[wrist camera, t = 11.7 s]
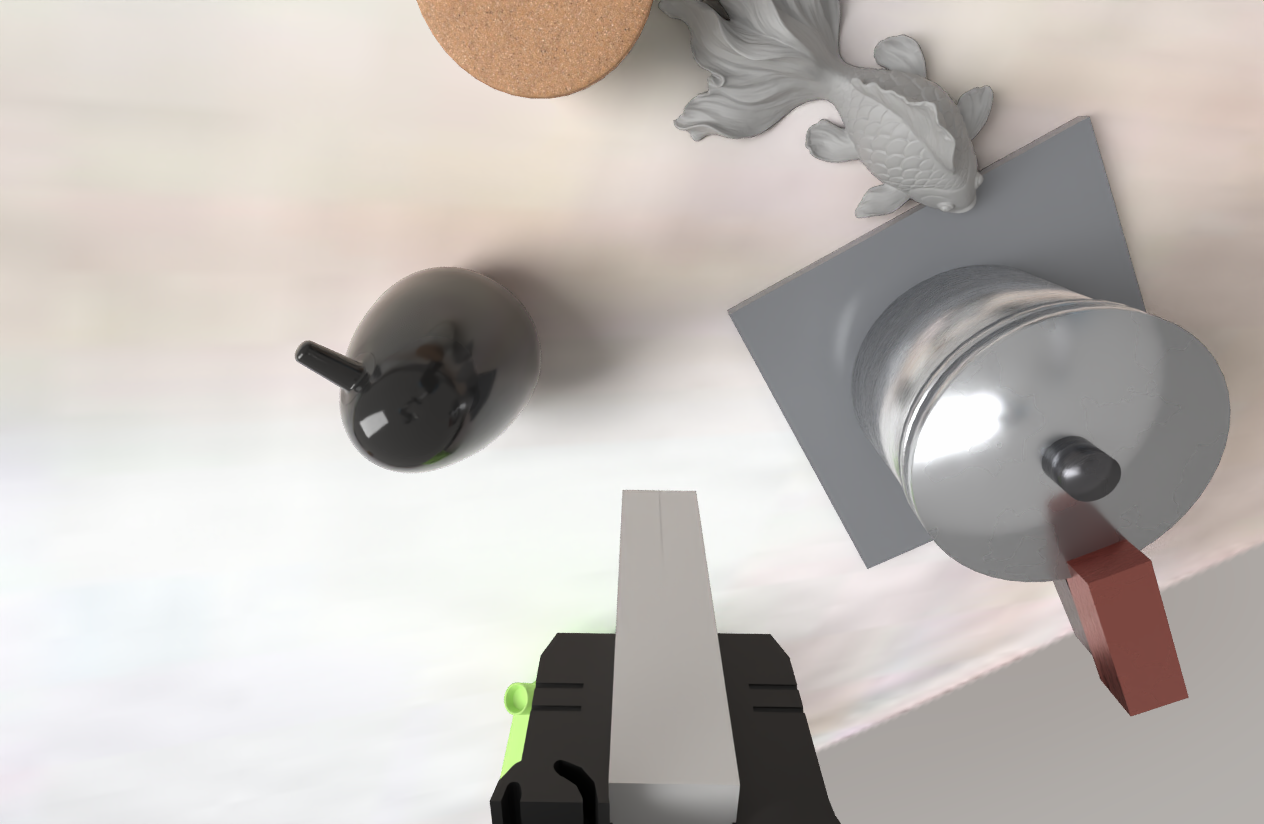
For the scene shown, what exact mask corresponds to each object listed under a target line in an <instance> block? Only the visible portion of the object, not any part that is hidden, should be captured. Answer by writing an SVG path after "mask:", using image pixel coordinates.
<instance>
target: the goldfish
mask: <svg viewBox="0 0 1264 824" xmlns="http://www.w3.org/2000/svg"><path fill="white" fill-rule="evenodd" d="M719 2H720V3H721V5H722V6H723V8H724V9H725V11H726V12H727V14H728V16H729V18H730V21H727V20H725V19H723V18H722V17H721V16H720V15H719V14H718V13H717V12H716V11H715V10H713V9H712V8H711V7H710V6H709V5H707V4H706V3H705V2H703V1H700V0H661V1H660V2H659V4H658V7H659V9H660V10H661V11H663V12H664V13H666V14H667V15H668V16H669V17H671V18H674V19H680V20H682V21H684V22H685V23H686V24H687V26H688V27H689V29H690V31H691V36H692V37H691V48H692V52H693V56H694V59H695V60H696V62H697V63H698V65H699V66H700V67H701V68H703V69H705V70H707V71H710V72H711V73H712V75H711V76H710V77H709V78H708V91H707V92H704V93H700V94H698V95H697V96H696V97H694V98H693V99H692V100H691V101H690V102H689V103H688V104H687V105H686V106H685V109H684V111H683V114H682V115H680V116H679V118H678V119H676V120H674V125H675V127H676V128H677V129H679V130H686V131H688V132H689V133H690V135H691V137H692V139H693V140H694V141H699V140H701V139H702V138H703V137H704V136H706V135H711V134H716V135H720V136H723V137H727V138H733V139H741V138H749V137H753V136H756V135H758V134H761V133H762V132H764V131H765V130H767V129H768V128H769V127H771V126H772V125H774V124H775V123H776V122H778V121H779V120H780V119H781V118H782V117H783V116H785V115H786V114H787V113H788V112H790V111H791V110H792V109H794V108H795V107H797V106H799V105H801V104H803V103H805V102H808V101H811V100H817V99H824V100H827V101H829V102H831V103H832V104H833V105H834V106H835V108H836V109H837V111H838V112H839V114H840V116H841V118H842V121H843V123H844V126H845V128H844V129H843V128H840V127H838V126H836V125H834V124H832V123H830V122H828V121H827V120H824V119H822V120H820V121H819V122H818V124H814V125H812V126H811V127H810V128H809V129H808V131H807V135H806V143H805V147H806V148H807V149H809V151H810V153H811V155H812V156H813V157H815V158H817V159H820V160H823V161H827V162H845V161H850V160H856V159H860V160H861V162H862V163H863V164H864V165H865V166H866V168H867V169H868V170H869V171H870V172H871V174H873V175H874V176H875V177H877V179H879V180H880V181H881V182H882V183H883V185H879V186H875V187H872V188H870V189H869V190H868V191H867V192H866V194H865V195H864V196H863V198H862V200H861V202H860V203H859V205H858V207H857V208H856V210H855V216H856V217H857V218H866V217H872V216H880V215H885V214H889V213H892V212H894V211H895V210H896V209H898V208H899V207H901V206H902V205H903V204H904V203H905V202H907V201H908V200H909V199H913V200H914V201H916V202H919V203H921V204H924V205H926V206H929V207H932V208H935V209H939V210H941V211H943V212H951V213H964V212H967V211H969V210H971V209H972V208H973V207H974V206H975V204H976V189H977V188H978V187H979V185H981V184H982V182H983V180H984V179H983V176H982V175H981V174H980V173H979V172H978V171H977V168H978V162H977V157H976V154H975V153H974V148H973V144H972V142H971V140H972V139H973V138H974V137H975V136H976V135H977V134H978V133H979V131H980V130H981V129H982V127H983V126H984V124H985V123H986V121H987V119H988V116H989V114H990V111H991V108H992V102H993V91H992V89H991V88H990V86H988V85H986V86H983V87H981V88H979V87H976V88H973V89H972V90H970V91H968V92H966V93H964V94H963V95H962V96H961V97H960V99H959V100H958V104H957V105H956V104H955V102H954V101H953V100H952V99H951V98H950V97H949V95H948V94H947V92H946V91H944V90H943V89H942V88H941V87H940V86H939V85H938V84H936V83H933V82H932V81H930V80H927V79H926V65H925V59H924V56H923V53H922V51H921V48H920V46H919V44H918V43H917V42H916V41H915V40H914V39H912V38H911V37H908V36H906V35H899V36H892V37H888V38H886V39H885V40H882V41H880V42H879V43H878V44H877V46H876V47H875V49H874V57H875V59H876V62H877V64H879V65H881V66H883V67H885V68H887V69H888V70H884V69H879V70H878V69H873V68H859V67H855V66H852V65H849V64H847V63H846V62H844V61H843V60H842V58H841V57H840V55H839V50H838V38H839V24H840V2H839V0H719Z"/></svg>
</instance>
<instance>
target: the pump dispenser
mask: <svg viewBox="0 0 1264 824" xmlns="http://www.w3.org/2000/svg"><path fill="white" fill-rule="evenodd" d="M295 359H296V361H297V362H298V363H300V364H302V365H303V366H305V367H307V368H308V369H310V370H312V371H314V372H315V373H317V374H319V375H320V376H322V377H324V378H325V379H327V380H329V381H330V382H332V383H334V384H335V385H337V386H339V387H340V392H339V404H340V414H341V419H342V422H343V426H344V428H345V431H346V433H347V435H348V437H349V439H350V441H351V442H352V444H353V445H354V447H355V448H356V449H357V450H358V451H359V452H360V453H361V454H362V455H363V456H364V457H365V458H366V459H368V460H369V461H370V462H372V463H374V464H375V465H377V466H379V467H382V468H384V469H387V470H391V471H395V472H401V473H423V472H429V471H434V470H437V469H441V468H444V467H447V466H450V465H453V464H455V463H457V462H460V461H462V460H464V459H466V458H468V457H470V456H472V455H474V454H476V453H477V452H479V451H481V450H482V449H484V448H485V447H487V446H488V445H489V444H491V443H492V442H493V441H495V440H496V439H497V438H498V437H499V436H500V435H501V434H503V433H504V432H505V431H506V430H507V428H508V427H509V426H510V425H511V424H512V423H513V422H514V421H515V419H516V418H517V417H518V416H519V415H520V413H521V412H522V411H523V409H524V408H525V406H526V405H527V403H528V402H529V400H530V398H531V396H532V394H533V392H534V390H535V387H536V384H537V382H538V378H539V374H540V369H541V346H540V341H539V336H538V333H537V330H536V327H535V325H534V323H533V321H532V319H531V317H530V315H529V313H528V312H527V310H526V309H525V307H524V306H523V305H522V303H521V302H520V301H519V300H518V299H517V298H516V297H515V296H514V295H513V294H512V293H511V292H510V291H509V290H508V289H506V288H505V287H504V286H503V285H501V284H500V283H498V282H497V281H495V280H493V279H491V278H490V277H487V276H485V275H483V274H481V273H478V272H475V271H472V270H468V269H463V268H457V267H436V268H429V269H425V270H421V271H418V272H415V273H413V274H411V275H409V276H407V277H405V278H403V279H401V280H400V281H398V282H397V283H395V284H394V285H392V286H391V287H390V288H389V289H388V290H386V291H385V292H384V293H383V294H382V295H381V296H380V297H379V298H378V300H377V301H376V302H375V303H374V304H373V306H372V307H371V308H370V309H369V311H368V312H367V313H366V315H365V316H364V318H363V319H362V321H361V322H360V324H359V326H358V327H357V329H356V331H355V333H354V335H353V337H352V339H351V342H350V344H349V347H348V350H347V353H346V356H344V355H342V354H340V353H337V352H335V351H333V350H330V349H328V348H326V347H324V346H321V345H319V344H317V343H315V342H312V341H304V342H303V343H301V344H300V345H299V347H298V348H297V350H296V352H295Z"/></svg>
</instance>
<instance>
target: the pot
mask: <svg viewBox="0 0 1264 824" xmlns="http://www.w3.org/2000/svg"><path fill="white" fill-rule="evenodd" d="M1083 303H1104V304H1114V305H1122V306H1126V307H1130V306H1127V305H1124V304H1121V303H1116V302H1111V301H1106V300H1098V299H1092V298H1089V297H1087V296H1084V295H1082V294H1079V293H1076V292H1074V291H1071V290H1069V289H1066V288H1064V287H1061V286H1059V285H1056V284H1054V283H1051V282H1049V281H1046V280H1044V279H1041V278H1039V277H1036V276H1034V275H1031V274H1029V273H1026V272H1023V271H1020V270H1017V269H1015V268H1010V267H1005V266H998V265H974V266H966V267H961V268H956V269H952V270H949V271H946V272H942V273H939V274H937V275H935V276H932V277H930V278H928V279H926V280H924V281H922V282H920V283H919V284H917V285H915V286H914V287H912V288H910V289H909V290H907V291H906V292H905V293H903V294H902V295H901V296H899V297H898V298H897V299H896V300H895V301H894V302H892V303H891V304H890V305H889V306H888V307H887V308H886V309H885V310H884V311H883V313H882V314H881V315H880V316H879V317H878V319H877V320H876V321H875V322H874V324H873V325H872V327H871V328H870V330H869V331H868V333H867V334H866V336H865V338H864V340H863V342H862V344H861V346H860V348H859V351H858V354H857V357H856V360H855V364H854V369H853V374H852V385H851V392H852V402H853V407H854V411H855V415H856V417H857V420H858V422H859V425H860V426H861V428H862V430H863V431H864V433H865V435H866V436H867V438H868V439H869V441H870V442H871V443H872V445H873V446H874V448H875V449H876V450H877V452H878V453H879V455H880V456H881V457H882V459H883V460H884V462H885V463H886V464H887V466H888V467H889V469H890V470H891V471H892V473H893V474H894V476H895V477H896V478H897V480H898V481H899V483H900V484H901V485H902V489H903V491H904V494H905V496H906V499H907V501H908V503H909V505H910V507H911V508H912V506H911V503H910V500H909V497H908V494H907V490H906V484H905V478H904V456H905V450H906V443H907V439H908V436H909V432H910V429H911V425H912V423H913V421H914V418H915V416H916V414H917V412H918V409H919V407H920V406H921V404H922V402H923V401H924V399H925V397H926V396H927V394H928V392H929V391H930V389H931V388H932V387H933V385H934V384H935V383H936V381H937V380H938V379H939V378H940V376H941V375H942V374H943V373H944V372H945V371H946V370H947V369H948V368H949V366H950V365H951V364H952V363H953V362H954V361H955V360H956V359H957V358H958V357H960V356H961V355H962V354H963V353H964V352H966V351H967V350H968V349H969V348H970V347H972V346H973V345H974V344H975V343H977V342H978V341H980V340H981V339H983V338H984V337H986V336H987V335H989V334H990V333H992V332H994V331H995V330H997V329H999V328H1001V327H1003V326H1005V325H1007V324H1009V323H1011V322H1013V321H1015V320H1018V319H1020V318H1023V317H1025V316H1028V315H1030V314H1033V313H1036V312H1039V311H1043V310H1047V309H1050V308H1054V307H1059V306H1066V305H1072V304H1083ZM1130 308H1133V307H1130ZM1134 309H1135V308H1134ZM912 510H913V508H912ZM913 512H914V510H913ZM914 513H915V512H914ZM915 515H916V513H915ZM916 516H917V515H916ZM917 518H918V517H917ZM1053 582H1054V585H1055V587H1056V590H1057V592H1058V595H1059V597H1060V599H1061V602H1062V604H1063V607H1064V609H1065V611H1066V614H1067V616H1068V619H1069V621H1070V623H1071V626H1072V628H1073V631H1074V633H1075V635H1076V637H1077V638H1078V639H1079V640H1080V641H1081V642H1082V644H1083V645H1084V646H1085V647H1086V648H1087V650H1088V651H1089V652H1090V653H1091V650H1090V647H1089V644H1088V641H1087V638H1086V635H1085V632H1084V629H1083V626H1082V623H1081V620H1080V617H1079V615H1078V612H1077V609H1076V606H1075V603H1074V600H1073V597H1072V594H1071V591H1070V588H1069V585H1068V582H1067V579H1063V580H1054V581H1053ZM1091 654H1092V653H1091Z"/></svg>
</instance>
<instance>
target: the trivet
mask: <svg viewBox="0 0 1264 824" xmlns="http://www.w3.org/2000/svg"><path fill="white" fill-rule="evenodd" d="M979 173H980V174H981V175H982V176H983V179H984V180H983V182H982V184H981V185H979V187H978V188H977V189H976V204H975V206H974V207H973V208H972V209H971V210H969V211H967V212H964V213H951V212H943V211H941V210H939V209H935V208H932V207H929V206H926V205H924V204H919V205H917V206H915V207H914V208H912V209H910V210H908V211H906V212H905V213H903V214H901V215H899V216H897V217H896V218H894V219H892V220H890V221H888V222H886V223H885V224H883V225H881V226H879V227H877V228H876V229H874V230H872V231H870V232H868V233H867V234H865V235H863V236H861V237H859V238H858V239H856V240H854V241H852V242H850V243H848V244H847V245H845V246H843V247H841V248H839V249H838V250H836V251H834V252H832V253H830V254H829V255H827V256H825V257H823V258H821V259H820V260H818V261H816V262H814V263H812V264H810V265H809V266H807V267H805V268H803V269H801V270H800V271H798V272H796V273H794V274H792V275H791V276H789V277H787V278H785V279H783V280H781V281H780V282H778V283H776V284H774V285H772V286H771V287H769V288H767V289H765V290H763V291H762V292H760V293H758V294H756V295H754V296H753V297H751V298H749V299H747V300H745V301H743V302H742V303H740V304H738V305H736V306H734V307H733V308H731V309H729V310H727V311H728V313H729V315H730V317H731V319H732V321H733V322H734V324H735V326H736V328H737V330H738V332H739V334H740V335H741V337H742V339H743V341H744V343H745V345H746V346H747V348H748V350H749V352H750V354H751V356H752V357H753V359H754V361H755V363H756V365H757V367H758V368H759V370H760V372H761V374H762V376H763V378H764V380H765V381H766V383H767V385H768V387H769V389H770V391H771V392H772V394H773V396H774V398H775V400H776V402H777V403H778V405H779V407H780V409H781V411H782V413H783V414H784V416H785V418H786V420H787V422H788V424H789V425H790V427H791V429H792V431H793V433H794V435H795V437H796V438H797V440H798V442H799V444H800V446H801V448H802V449H803V451H804V453H805V455H806V457H807V459H808V460H809V462H810V464H811V466H812V468H813V470H814V471H815V473H816V475H817V477H818V479H819V481H820V483H821V484H822V486H823V488H824V490H825V492H826V494H827V495H828V497H829V499H830V501H831V503H832V505H833V506H834V508H835V510H836V512H837V514H838V516H839V517H840V519H841V521H842V523H843V525H844V527H845V529H846V530H847V532H848V534H849V536H850V538H851V540H852V541H853V543H854V545H855V547H856V549H857V551H858V552H859V554H860V556H861V558H862V560H863V562H864V563H865V565H866V567H867V569H869V568H871V567H873V566H876V565H878V564H880V563H882V562H885V561H887V560H889V559H891V558H894V557H896V556H898V555H901V554H903V553H905V552H907V551H910V550H912V549H914V548H917V547H919V546H921V545H923V544H926V543H928V542H930V541H933V539H932V537H931V536H930V535H929V533H928V532H927V531H926V529H925V528H924V526H923V525H922V524H921V522H920V521H919V519H918V518H917V516H916V515H915V513H914V512H913V510H912V508H911V507H910V505H909V503H908V501H907V499H906V496H905V494H904V491H903V489H902V485H901V484H900V483H899V481H898V480H897V478H896V477H895V476H894V474H893V473H892V471H891V470H890V469H889V467H888V466H887V464H886V463H885V462H884V460H883V459H882V457H881V456H880V455H879V453H878V452H877V450H876V449H875V448H874V446H873V445H872V443H871V442H870V441H869V439H868V438H867V436H866V435H865V433H864V431H863V430H862V428H861V426H860V425H859V422H858V420H857V417H856V415H855V411H854V407H853V402H852V392H851V385H852V374H853V369H854V364H855V360H856V357H857V354H858V351H859V348H860V346H861V344H862V342H863V340H864V338H865V336H866V334H867V333H868V331H869V330H870V328H871V327H872V325H873V324H874V322H875V321H876V320H877V319H878V317H879V316H880V315H881V314H882V313H883V311H884V310H885V309H886V308H887V307H888V306H889V305H890V304H891V303H892V302H894V301H895V300H896V299H897V298H898V297H899V296H901V295H902V294H903V293H905V292H906V291H907V290H909V289H910V288H912V287H914V286H915V285H917V284H919V283H920V282H922V281H924V280H926V279H928V278H930V277H932V276H935V275H937V274H939V273H942V272H946V271H949V270H952V269H956V268H961V267H966V266H974V265H998V266H1005V267H1010V268H1015V269H1017V270H1020V271H1023V272H1026V273H1029V274H1031V275H1034V276H1036V277H1039V278H1041V279H1044V280H1046V281H1049V282H1051V283H1054V284H1056V285H1059V286H1061V287H1064V288H1066V289H1069V290H1071V291H1074V292H1076V293H1079V294H1082V295H1084V296H1087V297H1089V298H1092V299H1098V300H1106V301H1111V302H1116V303H1121V304H1124V305H1127V306H1130V307H1133V308H1135V309H1138V310H1141V311H1144V312H1146V310H1145V306H1144V303H1143V300H1142V296H1141V293H1140V289H1139V286H1138V282H1137V279H1136V275H1135V272H1134V269H1133V265H1132V262H1131V258H1130V255H1129V251H1128V248H1127V244H1126V241H1125V238H1124V234H1123V231H1122V227H1121V224H1120V220H1119V217H1118V213H1117V210H1116V207H1115V203H1114V200H1113V196H1112V193H1111V189H1110V186H1109V182H1108V179H1107V176H1106V172H1105V169H1104V165H1103V162H1102V158H1101V155H1100V151H1099V148H1098V145H1097V141H1096V138H1095V134H1094V131H1093V127H1092V124H1091V120H1090V117H1089V116H1084V117H1077V118H1075V119H1073V120H1071V121H1069V122H1068V123H1066V124H1064V125H1062V126H1060V127H1058V128H1057V129H1055V130H1053V131H1051V132H1049V133H1048V134H1046V135H1044V136H1042V137H1040V138H1039V139H1037V140H1035V141H1033V142H1031V143H1030V144H1028V145H1026V146H1024V147H1022V148H1020V149H1019V150H1017V151H1015V152H1013V153H1011V154H1010V155H1008V156H1006V157H1004V158H1002V159H1001V160H999V161H997V162H995V163H993V164H991V165H990V166H988V167H986V168H984V169H982V170H981V171H979Z"/></svg>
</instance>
